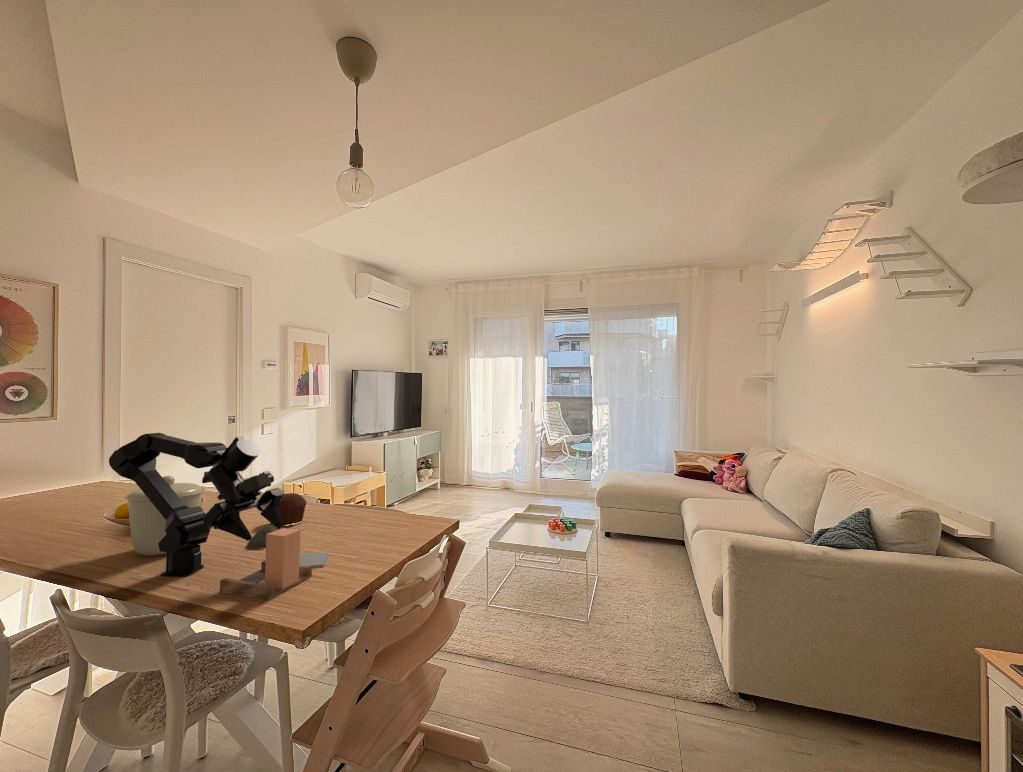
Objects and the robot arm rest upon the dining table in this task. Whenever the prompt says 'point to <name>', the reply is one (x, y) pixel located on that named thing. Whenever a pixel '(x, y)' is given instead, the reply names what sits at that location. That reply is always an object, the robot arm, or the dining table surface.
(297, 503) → the muffin
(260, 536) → the sword in stone
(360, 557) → the dining table surface
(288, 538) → the terracotta block
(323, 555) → the slate mat
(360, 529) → the dining table surface
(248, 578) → the walnut channel
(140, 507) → the canister
